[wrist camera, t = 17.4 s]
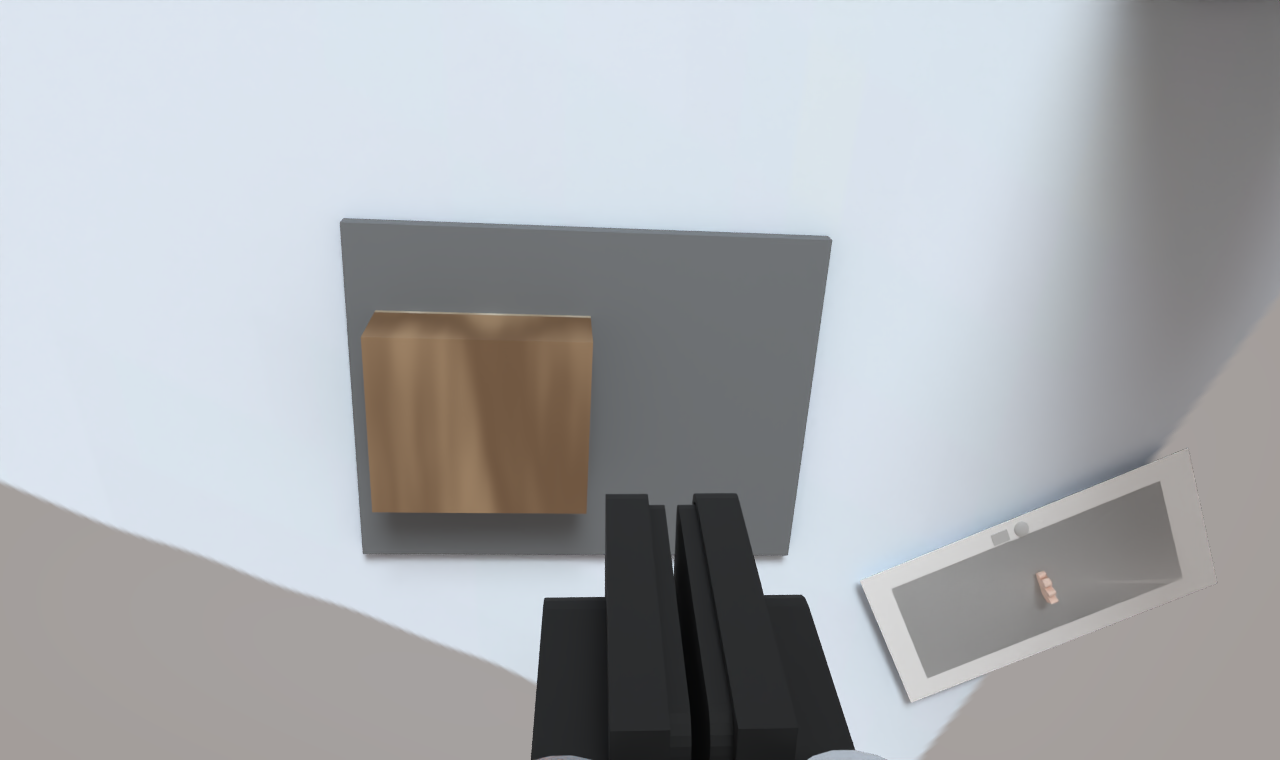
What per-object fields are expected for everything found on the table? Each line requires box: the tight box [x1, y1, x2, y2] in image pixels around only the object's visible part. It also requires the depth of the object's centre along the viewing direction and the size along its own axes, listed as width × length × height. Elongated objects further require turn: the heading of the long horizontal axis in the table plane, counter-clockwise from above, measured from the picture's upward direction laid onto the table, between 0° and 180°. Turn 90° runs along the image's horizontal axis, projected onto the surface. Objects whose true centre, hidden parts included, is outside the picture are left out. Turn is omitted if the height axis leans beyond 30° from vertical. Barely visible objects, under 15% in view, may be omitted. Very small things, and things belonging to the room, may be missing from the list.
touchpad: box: [860, 448, 1217, 703], centre depth 42 cm, size 8×15×2 cm, turn 114°
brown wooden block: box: [361, 310, 593, 514], centre depth 35 cm, size 3×7×8 cm
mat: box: [340, 218, 832, 555], centre depth 37 cm, size 18×14×1 cm
